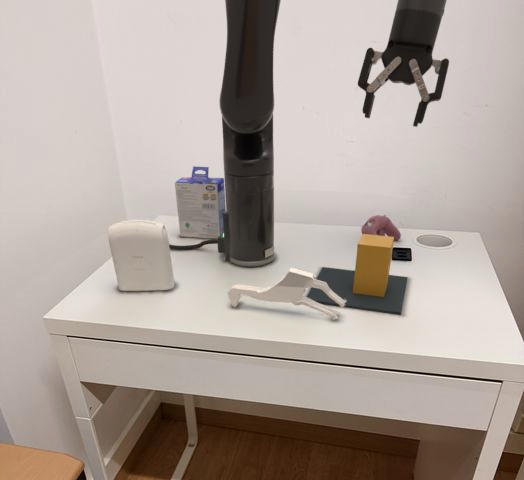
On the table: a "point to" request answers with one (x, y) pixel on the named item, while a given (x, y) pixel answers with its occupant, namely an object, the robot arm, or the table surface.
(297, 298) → the llama figurine
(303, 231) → the table surface
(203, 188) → the ink cartridge box
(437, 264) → the table surface
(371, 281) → the block
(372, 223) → the video game controller
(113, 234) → the photo printer
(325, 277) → the mat
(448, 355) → the table surface
